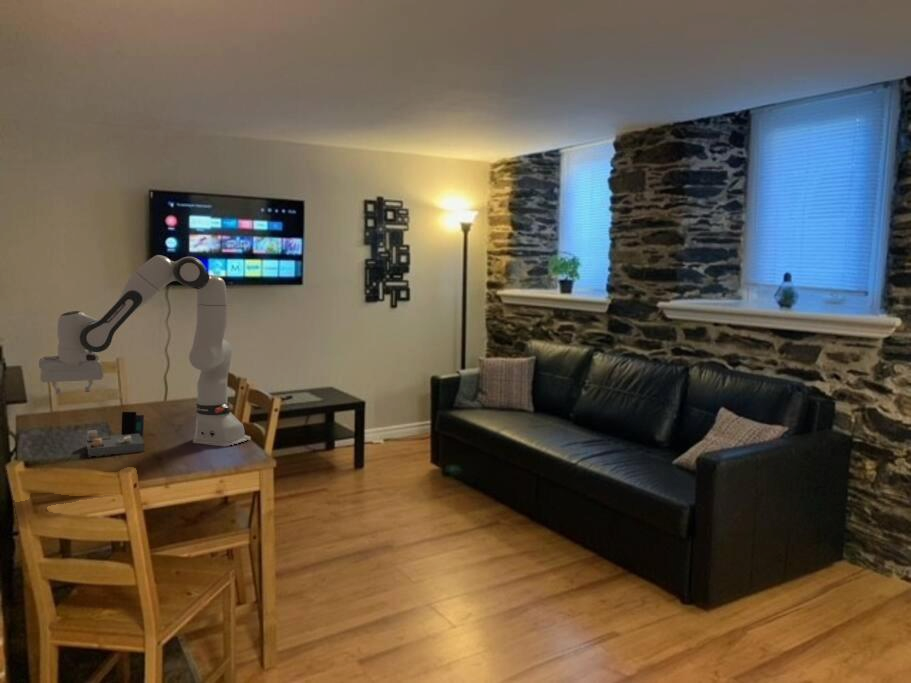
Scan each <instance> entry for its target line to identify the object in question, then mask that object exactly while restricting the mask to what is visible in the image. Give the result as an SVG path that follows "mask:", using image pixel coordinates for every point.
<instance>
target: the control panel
mask: <svg viewBox="0 0 911 683" xmlns="http://www.w3.org/2000/svg"><path fill="white" fill-rule="evenodd" d="M130 435H131V438H132V440H130V441H127V442H126V443H124V442H122V443H119V442H118V438H122V437H126V436H130ZM98 438H101V439H102V447H93V441H88V437H87V438H85V443H86V445H87V447H86V450H88V451H87V455H89V456H88V458H92V457H91V456H96V457H103V455H105V456H112V455H111V454H114V455H121V454H129V453H131V454H132V453H139V452H145V442H144V440H143V438H142V435H140V434H139V433H137V434H127V435H122V434H118V435H110V436H109V435H108V436H99V437H98Z"/></svg>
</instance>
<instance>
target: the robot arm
mask: <svg viewBox="0 0 911 683" xmlns="http://www.w3.org/2000/svg"><path fill="white" fill-rule="evenodd" d="M171 282H178V283H180V284H182V285H183V286H186V287H190V288H193V289H195V291H196V294H197V296H196V297H197V299H196V301H197V302H196V326H195V327H196V328H195V332H194V337H193V340H192V341H193V343H192V347H191V350H190V352H189V355H188V358H189V363H190V365H191V366H193V368H194V369H196V370H200V372H199V373H200V374H199V378H198V381H197V383H196V384H197V386H196V387H197V390H196V391H197V403H196V406H195V408H196V413H197V417H196V420H195V428H194V429H195V430H194V437H193V439H192V443H193V444H199V445H206V446H207V445H209V446H216V447H217V446H218V447H231V446H230V445H232V446H235V445H234V444H237V445H239V444H238V443H241V442H244V441H247V440H249V441H251V440H252V438H251V436H250V435H247V434H245V427H244V424H243V423H242V422H241V421H240V420H239V419H238V417H236V416H235V415H234V414H233V413H232V409H233V405H230V403H229V401H228V378H229V372H230V365H231V359H232V356H233V347H232V345H231V344H230V342H229V341H228V340H226V339H224V336H225V331H226V329H227V326H228V292H227V285H226V282H225V280H224V279H223V277H221V276H218V275H212V274H209V273H208V271H207V269H206V268H205V265H204V264H203V262H202V261H201V260H200V259H198V258H196V257H194V256H185V257H182V258H180V259H177V260H171V259H170V258H168V257H167V256H164V255H161V254H157V255H154V256H153V257H151V258H149V259H148V260H147V261H145V262H144V263H143V264H142V265H141V266H140V267H139V268H138V269H137V270H136V271H135V272H134V273H133V274H132V275H131V276H130V278H129V279H128V281H127V282H126V284H125V285H124V288H123V290H122V292H121V295H119V298H118V300H117V301H116V302H115V304H114V305H113V306H112V307H110V309H109V310H108V311H107V312H106V313H105V314H104V315H103V316H102V317H101V318H100V319H97V318H94V317H92V316H89V315H88V314H85V313H84V311H80V310H74V311H67V312H65V313H62V314H60V315H59V317H58V318H57V319H58V320H57V331H56V332H57V339H58V344H57V345H58V346H57V355H53V356H43V357H41V358H40V359H39V360H38V368H40V381H41V382H42V383H51V385H52V387H53V389H54V390H55V394H56V395H60V394H61V388H59V387H57V383H60V382H62V383H63V382H79V381H80V382H81V381H87V382H88V385H87V386H84V393H90V391H91V389H90V388H91V387H92V385H93V384H94V381H101V380H103V378H104V369H103V364H102V362H101V361H100V355H99V353H101V352H104V351H106V350H107V349H108V348H109V346H110V345H111V344H112V341H113V338H114V335H115V333H116V332H117V330H118V329H119V328H120V327H121V326H122V325H123V323H125V322H126V320H127V319H128V318H130V316H131V315H132V314H133V313H134V312H136V311H137V310H139V309H140V308H141V307H144V305H147V304H148V303H149V302H151V301H152V300H153V299H155V297H157V296H158V295H159V294H160V292H162V291H163V290H164V288H165V287H166V286H167V285H169V284H170V283H171ZM247 442H248V441H247ZM244 443H245V442H244ZM241 444H242V443H241Z"/></svg>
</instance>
